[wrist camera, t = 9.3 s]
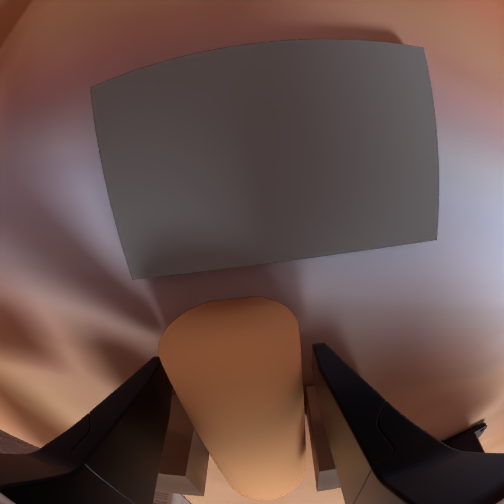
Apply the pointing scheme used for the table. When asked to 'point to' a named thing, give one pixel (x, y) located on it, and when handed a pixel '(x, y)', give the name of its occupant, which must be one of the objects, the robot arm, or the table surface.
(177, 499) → the coffee box
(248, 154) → the mat
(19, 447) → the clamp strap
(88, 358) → the table surface
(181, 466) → the clamp blocks
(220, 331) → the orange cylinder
